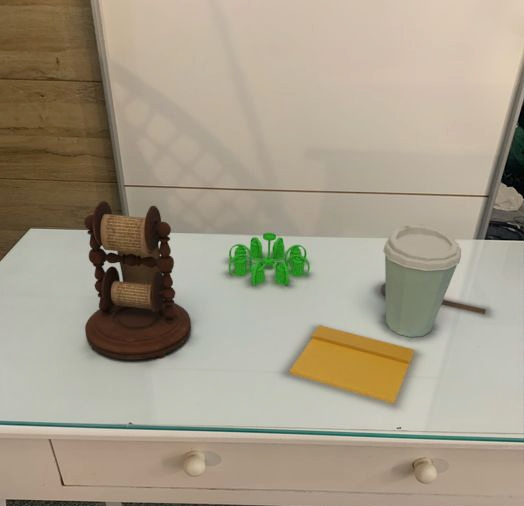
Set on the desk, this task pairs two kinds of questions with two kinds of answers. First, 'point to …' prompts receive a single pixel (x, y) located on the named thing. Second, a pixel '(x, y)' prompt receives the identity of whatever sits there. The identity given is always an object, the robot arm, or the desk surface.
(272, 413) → the desk surface
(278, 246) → the chandelier
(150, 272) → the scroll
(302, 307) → the desk surface
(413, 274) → the disposable coffee cup
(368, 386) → the envelope
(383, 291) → the spoon
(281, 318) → the desk surface
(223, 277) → the desk surface
